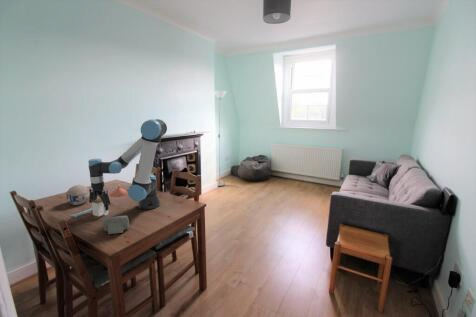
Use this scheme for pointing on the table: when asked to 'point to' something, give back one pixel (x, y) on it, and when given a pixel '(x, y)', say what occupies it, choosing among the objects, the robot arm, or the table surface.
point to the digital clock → (115, 224)
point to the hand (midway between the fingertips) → (101, 213)
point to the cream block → (98, 207)
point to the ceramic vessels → (118, 192)
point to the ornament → (78, 195)
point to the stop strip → (82, 212)
